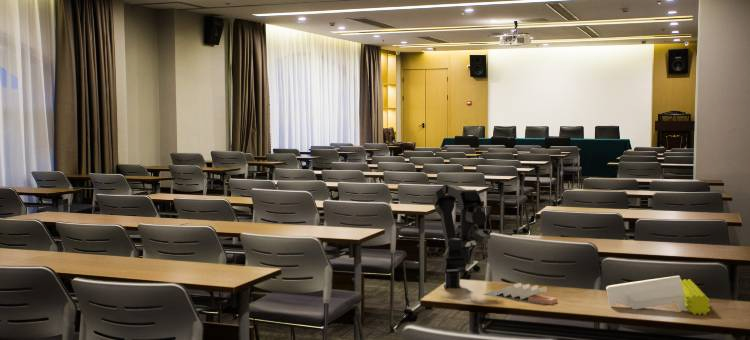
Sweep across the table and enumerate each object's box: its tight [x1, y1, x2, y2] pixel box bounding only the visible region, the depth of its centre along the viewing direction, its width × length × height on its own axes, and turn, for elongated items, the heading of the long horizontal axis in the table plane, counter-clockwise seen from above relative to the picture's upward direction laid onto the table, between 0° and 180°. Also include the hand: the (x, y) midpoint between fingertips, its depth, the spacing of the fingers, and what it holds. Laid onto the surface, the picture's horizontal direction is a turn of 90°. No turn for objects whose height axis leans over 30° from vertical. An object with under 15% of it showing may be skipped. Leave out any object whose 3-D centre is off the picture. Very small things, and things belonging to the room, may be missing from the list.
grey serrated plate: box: [482, 290, 541, 305], centre depth 284 cm, size 24×9×1 cm, turn 48°
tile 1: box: [494, 282, 523, 295], centre depth 286 cm, size 2×5×9 cm
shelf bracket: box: [605, 275, 688, 312], centre depth 268 cm, size 6×25×13 cm, turn 77°
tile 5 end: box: [528, 294, 558, 305], centre depth 277 cm, size 2×5×9 cm
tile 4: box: [519, 286, 548, 299], centre depth 279 cm, size 2×5×9 cm
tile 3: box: [511, 284, 540, 298], centre depth 282 cm, size 2×5×9 cm
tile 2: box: [503, 283, 531, 297], centre depth 284 cm, size 2×5×9 cm
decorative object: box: [680, 278, 711, 316], centre depth 275 cm, size 7×33×7 cm, turn 167°
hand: (467, 263), depth 290 cm, fingers closed
